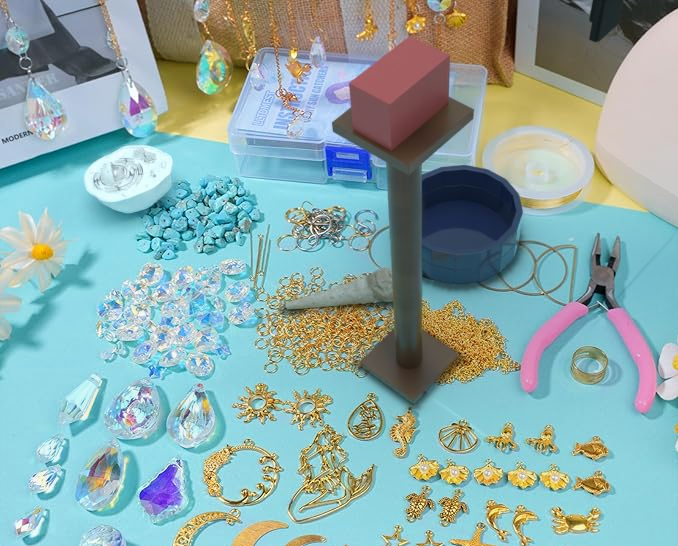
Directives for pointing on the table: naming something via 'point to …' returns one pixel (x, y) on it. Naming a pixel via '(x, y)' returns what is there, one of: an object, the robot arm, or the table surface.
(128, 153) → the cell model
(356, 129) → the dusty pink block
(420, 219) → the stand
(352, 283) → the seashell
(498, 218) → the pot
